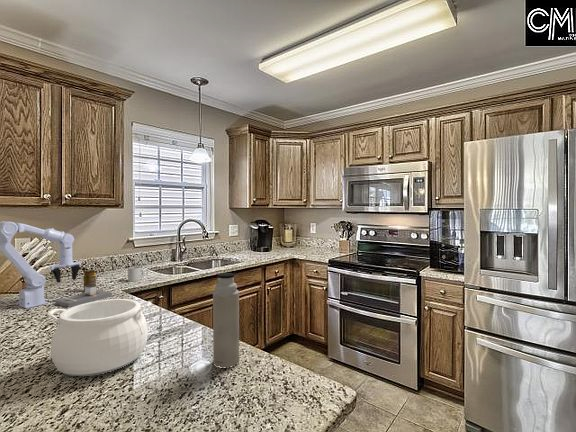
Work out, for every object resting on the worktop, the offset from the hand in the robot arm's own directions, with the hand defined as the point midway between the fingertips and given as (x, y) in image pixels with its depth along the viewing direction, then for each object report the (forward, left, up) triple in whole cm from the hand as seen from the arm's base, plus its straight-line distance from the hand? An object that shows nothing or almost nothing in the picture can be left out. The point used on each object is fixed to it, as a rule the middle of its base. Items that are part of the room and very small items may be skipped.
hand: (66, 280), depth 170 cm
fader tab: (+6, -12, -7) cm, 15 cm away
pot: (-33, -85, -10) cm, 92 cm away
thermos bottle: (-16, -121, -10) cm, 123 cm away
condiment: (+15, +4, -10) cm, 18 cm away
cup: (+45, +3, -10) cm, 46 cm away
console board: (+3, -12, -9) cm, 16 cm away
